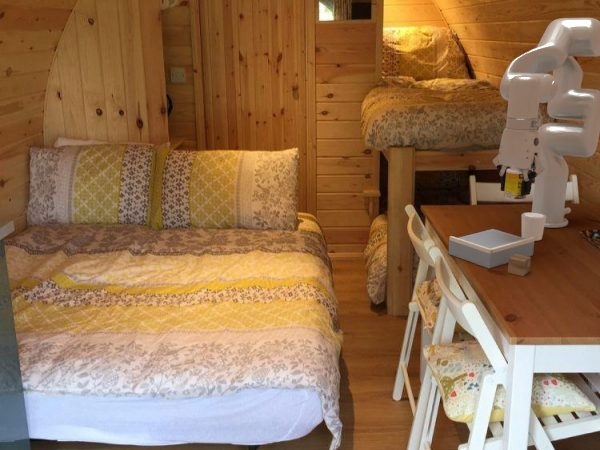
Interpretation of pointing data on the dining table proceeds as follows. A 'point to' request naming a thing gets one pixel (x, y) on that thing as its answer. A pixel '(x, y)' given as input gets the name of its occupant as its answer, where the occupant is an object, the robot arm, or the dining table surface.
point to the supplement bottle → (513, 184)
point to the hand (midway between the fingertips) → (515, 191)
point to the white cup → (533, 225)
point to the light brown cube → (519, 265)
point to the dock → (490, 247)
